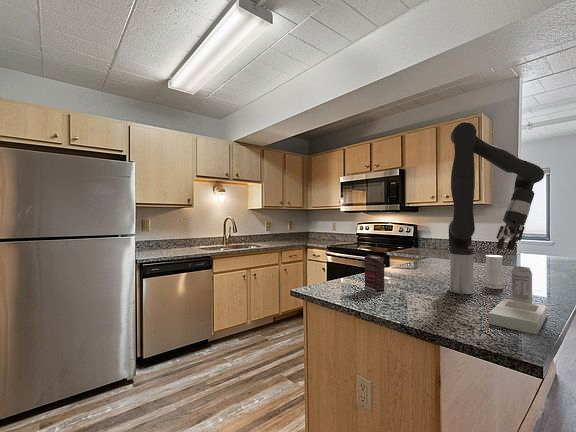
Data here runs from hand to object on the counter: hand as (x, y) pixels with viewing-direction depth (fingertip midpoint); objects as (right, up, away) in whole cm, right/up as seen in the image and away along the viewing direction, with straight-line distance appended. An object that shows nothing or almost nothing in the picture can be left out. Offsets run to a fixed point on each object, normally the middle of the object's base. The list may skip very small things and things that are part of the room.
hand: (503, 249), depth 123 cm
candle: (+8, -20, +17) cm, 28 cm away
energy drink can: (-2, -21, -12) cm, 24 cm away
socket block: (-14, -21, -25) cm, 35 cm away
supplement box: (-51, -21, +11) cm, 56 cm away
